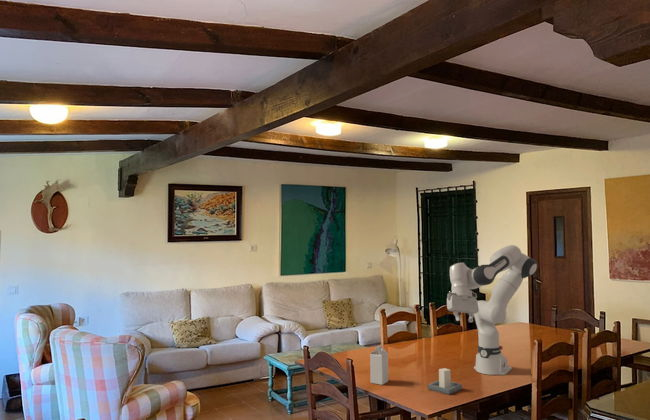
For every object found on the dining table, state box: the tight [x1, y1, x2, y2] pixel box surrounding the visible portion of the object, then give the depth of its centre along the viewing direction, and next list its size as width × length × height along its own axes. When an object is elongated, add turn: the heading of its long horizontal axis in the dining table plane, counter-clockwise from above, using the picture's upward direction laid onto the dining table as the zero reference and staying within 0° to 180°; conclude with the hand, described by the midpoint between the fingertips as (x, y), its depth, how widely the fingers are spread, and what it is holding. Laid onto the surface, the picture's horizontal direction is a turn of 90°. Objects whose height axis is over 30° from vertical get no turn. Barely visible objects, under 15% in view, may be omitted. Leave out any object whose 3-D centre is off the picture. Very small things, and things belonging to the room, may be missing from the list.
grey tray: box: [427, 379, 463, 396], centre depth 246 cm, size 12×12×2 cm
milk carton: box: [369, 344, 389, 386], centre depth 259 cm, size 7×7×19 cm
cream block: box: [438, 367, 452, 389], centre depth 246 cm, size 4×4×9 cm
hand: (464, 321), depth 243 cm, fingers open, 8 cm apart
